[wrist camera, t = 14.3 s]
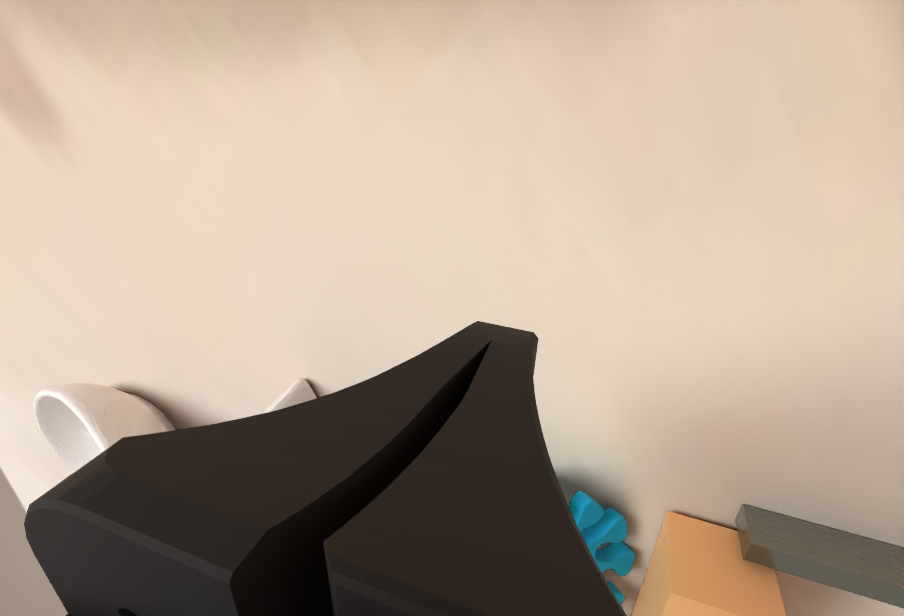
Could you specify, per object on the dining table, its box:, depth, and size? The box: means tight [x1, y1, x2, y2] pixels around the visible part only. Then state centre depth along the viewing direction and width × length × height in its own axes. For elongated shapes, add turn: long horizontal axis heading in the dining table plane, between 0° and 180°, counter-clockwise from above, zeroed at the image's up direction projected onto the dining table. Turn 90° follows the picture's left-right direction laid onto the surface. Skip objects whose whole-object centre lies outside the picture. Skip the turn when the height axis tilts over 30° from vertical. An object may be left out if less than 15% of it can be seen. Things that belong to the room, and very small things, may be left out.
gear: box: [569, 491, 635, 605], centre depth 23 cm, size 11×6×10 cm
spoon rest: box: [33, 378, 317, 474], centre depth 30 cm, size 24×12×7 cm, turn 112°
